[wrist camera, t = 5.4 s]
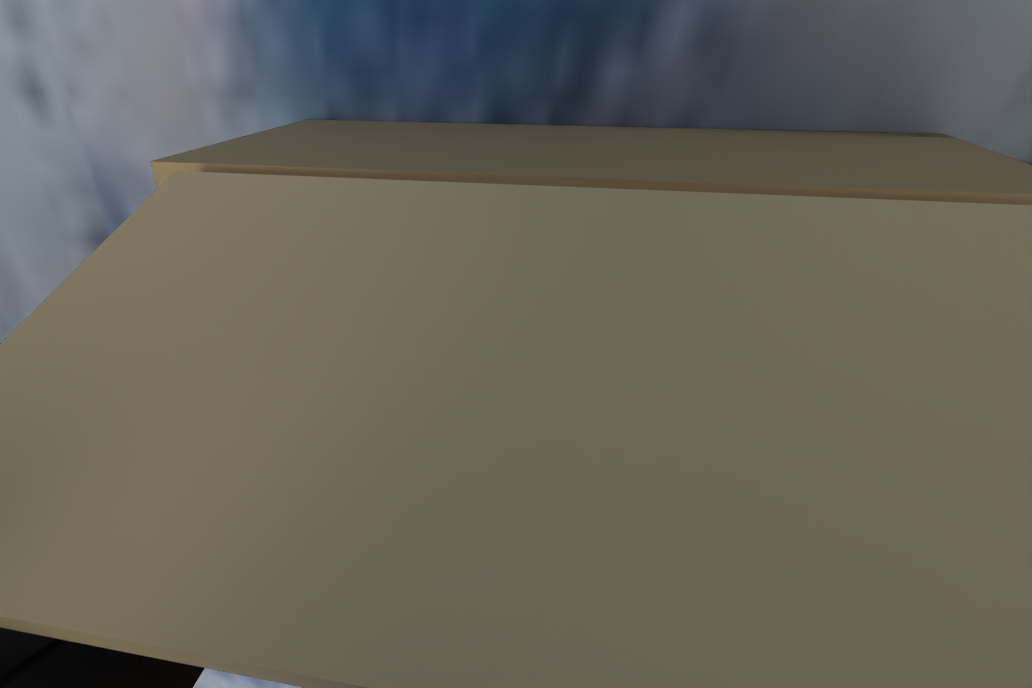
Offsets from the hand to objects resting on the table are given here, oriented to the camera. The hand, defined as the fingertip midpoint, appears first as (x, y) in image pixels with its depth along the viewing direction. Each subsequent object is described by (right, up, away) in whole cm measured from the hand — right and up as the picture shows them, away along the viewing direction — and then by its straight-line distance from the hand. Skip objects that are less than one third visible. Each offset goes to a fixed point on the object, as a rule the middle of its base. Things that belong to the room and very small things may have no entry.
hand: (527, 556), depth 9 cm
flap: (0, +3, -1) cm, 3 cm away
